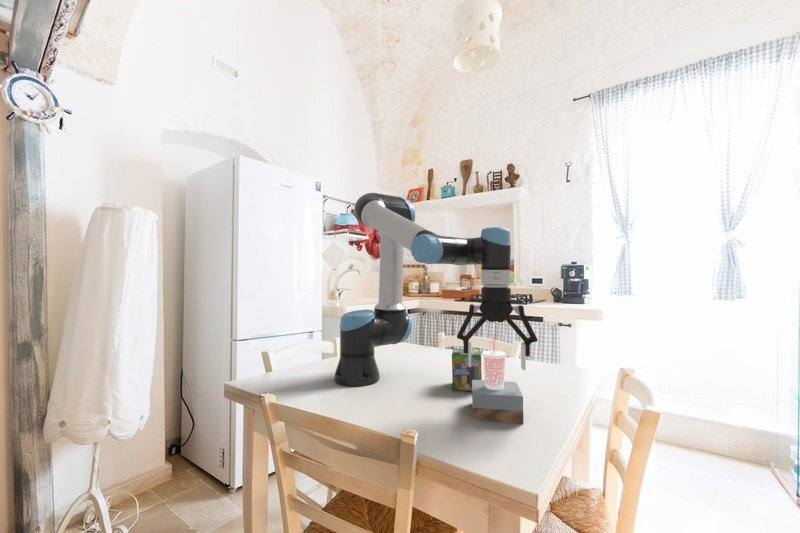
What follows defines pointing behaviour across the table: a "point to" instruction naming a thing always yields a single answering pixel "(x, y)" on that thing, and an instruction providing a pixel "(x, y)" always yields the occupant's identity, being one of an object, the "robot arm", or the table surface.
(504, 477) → the table surface
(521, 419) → the walnut base slab
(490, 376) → the beverage cup
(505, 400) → the slate top slab
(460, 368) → the chalk box
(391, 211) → the robot arm
